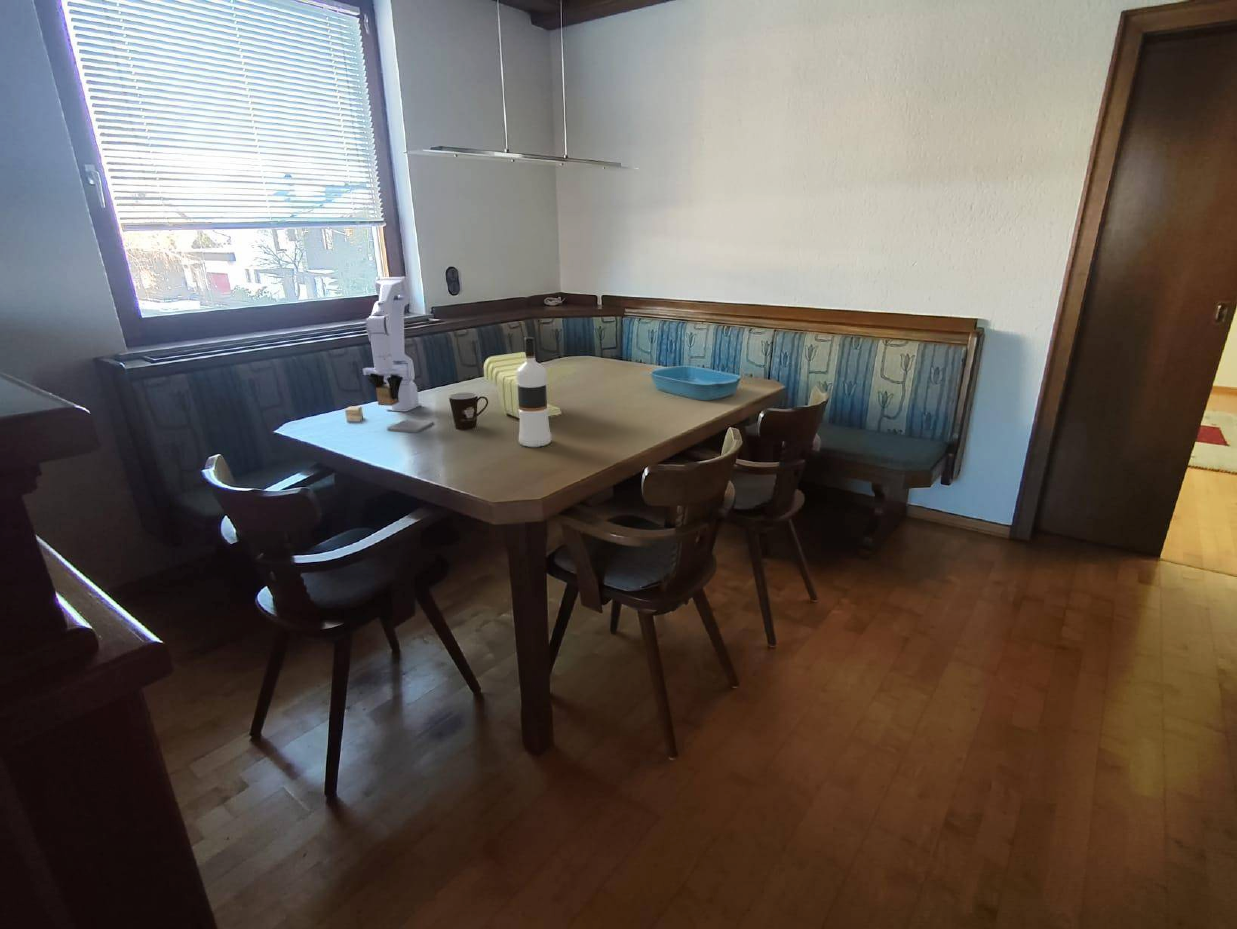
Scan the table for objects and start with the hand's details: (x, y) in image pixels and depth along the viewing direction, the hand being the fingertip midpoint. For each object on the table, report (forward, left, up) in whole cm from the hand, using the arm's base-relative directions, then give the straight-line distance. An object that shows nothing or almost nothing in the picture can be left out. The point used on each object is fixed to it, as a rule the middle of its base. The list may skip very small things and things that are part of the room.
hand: (388, 398), depth 206 cm
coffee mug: (-1, +28, -8) cm, 29 cm away
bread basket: (-19, +40, -8) cm, 45 cm away
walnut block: (0, 0, -2) cm, 2 cm away
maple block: (+1, -13, -8) cm, 15 cm away
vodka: (+9, +54, -8) cm, 55 cm away
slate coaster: (+4, +10, -8) cm, 13 cm away
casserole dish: (-64, +86, -8) cm, 108 cm away
